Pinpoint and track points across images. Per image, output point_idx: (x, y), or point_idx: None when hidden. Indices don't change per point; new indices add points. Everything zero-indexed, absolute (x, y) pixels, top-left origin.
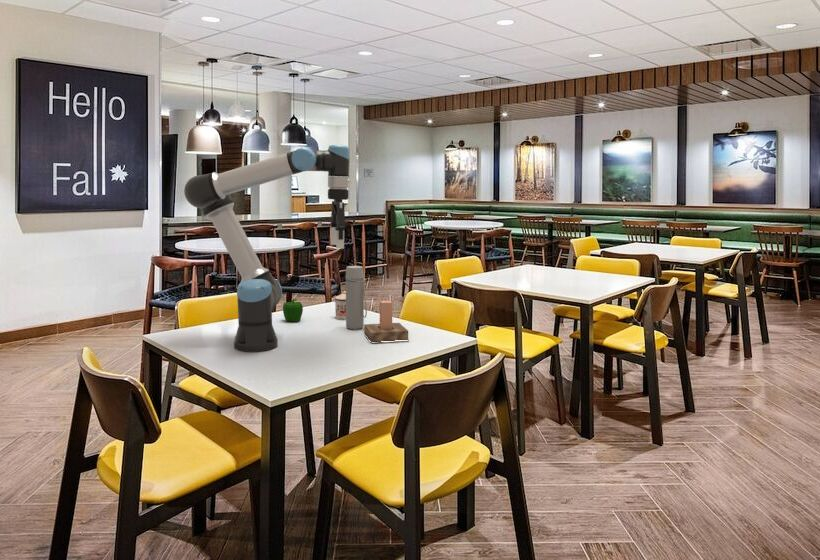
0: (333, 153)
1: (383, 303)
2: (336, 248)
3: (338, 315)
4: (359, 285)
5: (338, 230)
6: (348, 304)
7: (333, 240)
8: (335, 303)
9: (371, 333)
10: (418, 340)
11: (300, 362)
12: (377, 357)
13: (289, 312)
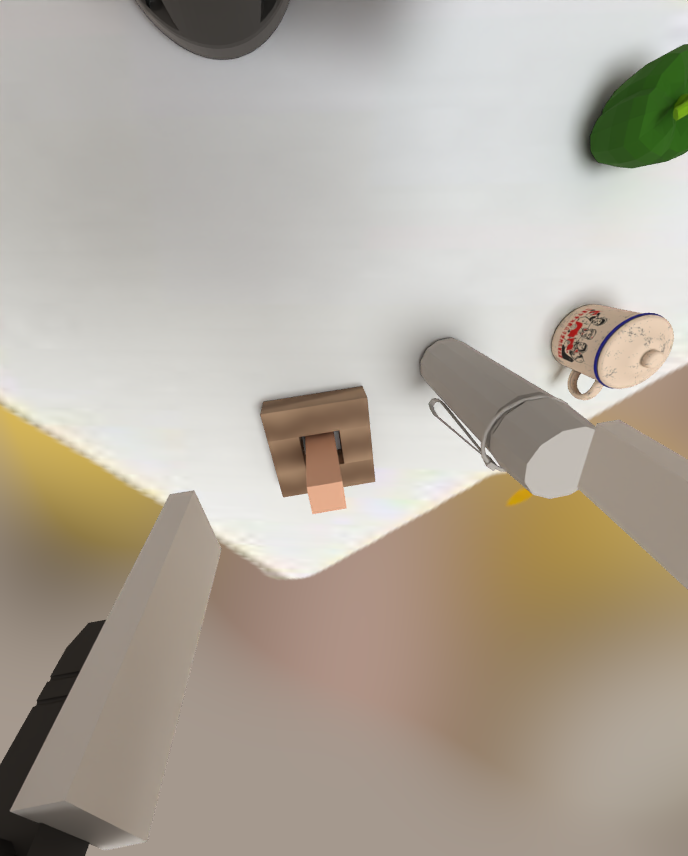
0: None
1: (307, 490)
2: (170, 495)
3: (576, 316)
4: (480, 439)
5: (49, 819)
6: (461, 368)
7: (630, 474)
8: (628, 312)
9: (260, 414)
10: (293, 499)
11: (6, 176)
12: (125, 412)
13: (626, 95)
